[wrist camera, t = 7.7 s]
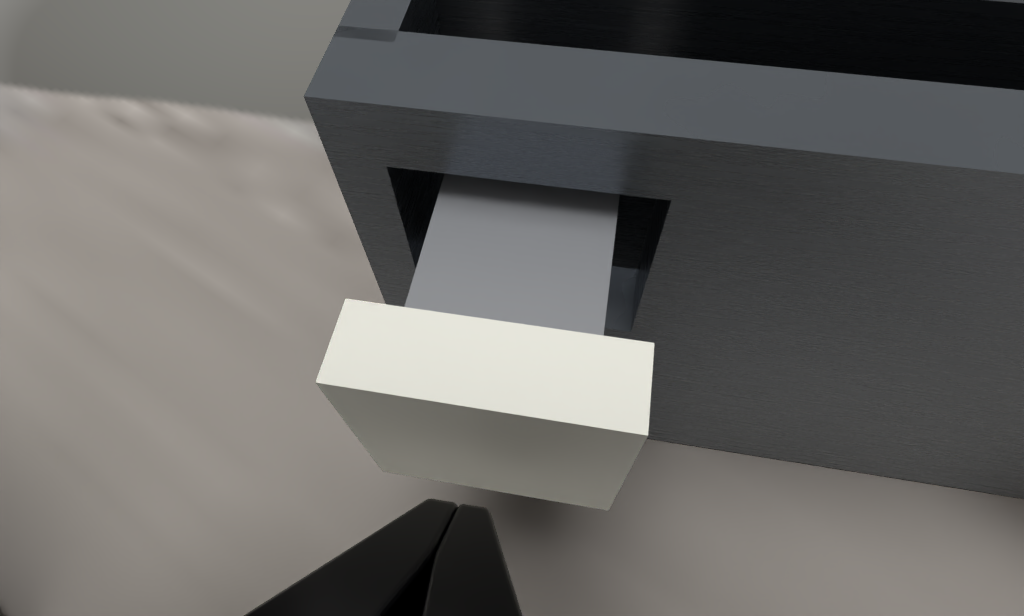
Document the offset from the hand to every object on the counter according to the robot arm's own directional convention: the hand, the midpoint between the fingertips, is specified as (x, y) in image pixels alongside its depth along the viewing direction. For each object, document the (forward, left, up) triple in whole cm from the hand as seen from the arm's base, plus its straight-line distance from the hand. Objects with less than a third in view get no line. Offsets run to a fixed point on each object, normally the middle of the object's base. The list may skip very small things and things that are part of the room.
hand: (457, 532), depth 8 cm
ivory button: (+1, +3, -2) cm, 4 cm away
